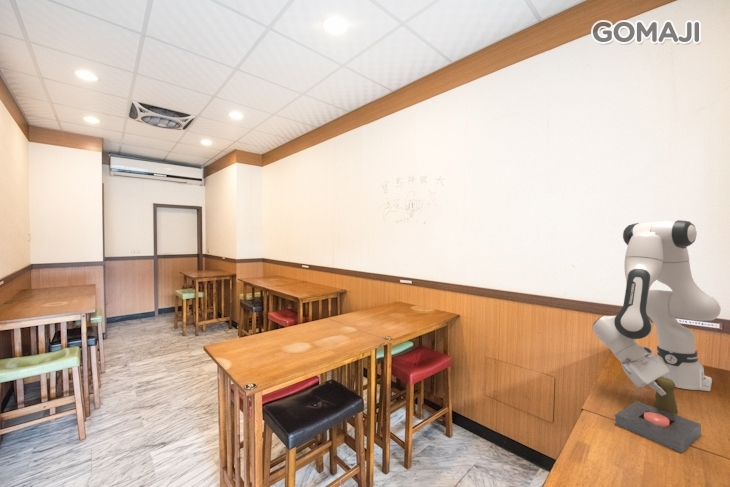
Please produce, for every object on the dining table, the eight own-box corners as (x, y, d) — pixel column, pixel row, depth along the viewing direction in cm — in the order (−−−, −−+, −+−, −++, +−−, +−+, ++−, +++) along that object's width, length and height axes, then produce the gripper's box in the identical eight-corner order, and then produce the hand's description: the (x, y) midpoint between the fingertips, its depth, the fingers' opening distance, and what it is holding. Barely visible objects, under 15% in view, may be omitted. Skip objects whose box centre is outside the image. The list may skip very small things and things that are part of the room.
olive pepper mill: (682, 414, 103) (681, 382, 103) (662, 413, 104) (661, 381, 104) (669, 405, 109) (668, 375, 109) (649, 403, 110) (648, 374, 110)
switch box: (637, 410, 109) (636, 401, 109) (701, 435, 95) (700, 424, 95) (615, 424, 101) (614, 414, 101) (681, 453, 87) (680, 441, 87)
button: (648, 421, 102) (648, 410, 102) (673, 431, 97) (672, 419, 97) (640, 427, 99) (640, 415, 99) (665, 437, 94) (664, 424, 94)
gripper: (626, 358, 108) (663, 397, 99) (651, 347, 117) (687, 381, 108) (612, 366, 112) (646, 404, 103) (637, 354, 121) (671, 388, 112)
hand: (668, 392), depth 106 cm, fingers closed on olive pepper mill, 4 cm apart
